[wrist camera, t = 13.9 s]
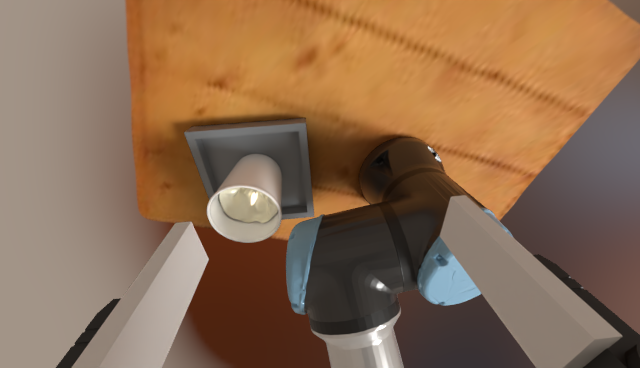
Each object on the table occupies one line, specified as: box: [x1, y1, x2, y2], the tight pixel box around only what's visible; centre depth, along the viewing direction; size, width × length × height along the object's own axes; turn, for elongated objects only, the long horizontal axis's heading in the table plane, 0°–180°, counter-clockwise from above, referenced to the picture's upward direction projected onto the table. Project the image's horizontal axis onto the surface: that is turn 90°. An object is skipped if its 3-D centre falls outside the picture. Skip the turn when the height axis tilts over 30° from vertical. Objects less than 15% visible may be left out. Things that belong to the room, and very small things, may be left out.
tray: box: [184, 118, 314, 219], centre depth 40 cm, size 18×18×3 cm
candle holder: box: [207, 154, 282, 243], centre depth 36 cm, size 10×10×12 cm
